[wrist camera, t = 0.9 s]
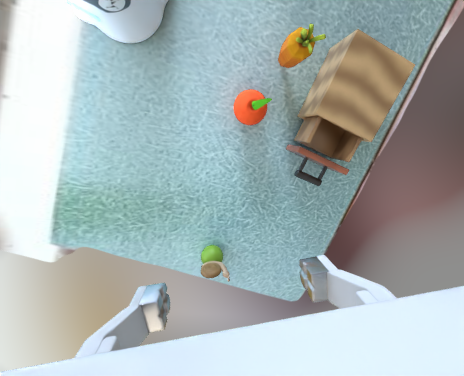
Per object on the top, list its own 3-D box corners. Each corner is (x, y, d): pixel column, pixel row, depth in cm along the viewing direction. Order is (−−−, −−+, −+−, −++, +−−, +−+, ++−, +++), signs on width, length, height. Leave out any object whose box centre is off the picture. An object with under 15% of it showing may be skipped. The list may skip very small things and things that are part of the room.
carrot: (297, 60, 46) (336, 27, 32) (283, 80, 47) (315, 58, 32) (279, 44, 45) (311, 3, 31) (265, 65, 46) (290, 35, 31)
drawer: (319, 185, 53) (335, 194, 46) (276, 167, 51) (287, 172, 44) (358, 113, 49) (383, 110, 42) (314, 89, 47) (332, 82, 40)
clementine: (261, 85, 47) (269, 77, 40) (271, 117, 49) (281, 114, 42) (227, 99, 47) (229, 94, 40) (238, 130, 49) (242, 130, 42)
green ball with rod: (227, 257, 57) (231, 290, 45) (202, 260, 56) (200, 294, 45) (225, 239, 55) (228, 268, 44) (200, 242, 55) (197, 272, 43)
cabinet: (344, 140, 51) (371, 142, 43) (297, 116, 49) (315, 113, 40) (378, 76, 48) (415, 64, 40) (329, 48, 46) (358, 28, 37)
